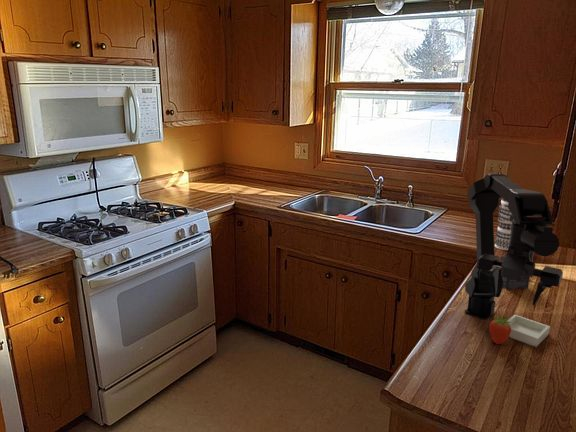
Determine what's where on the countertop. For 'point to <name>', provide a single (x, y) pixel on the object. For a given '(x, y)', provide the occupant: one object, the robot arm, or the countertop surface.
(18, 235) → the countertop surface
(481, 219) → the robot arm
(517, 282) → the box
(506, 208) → the decorative candle
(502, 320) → the fruit
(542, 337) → the bin
